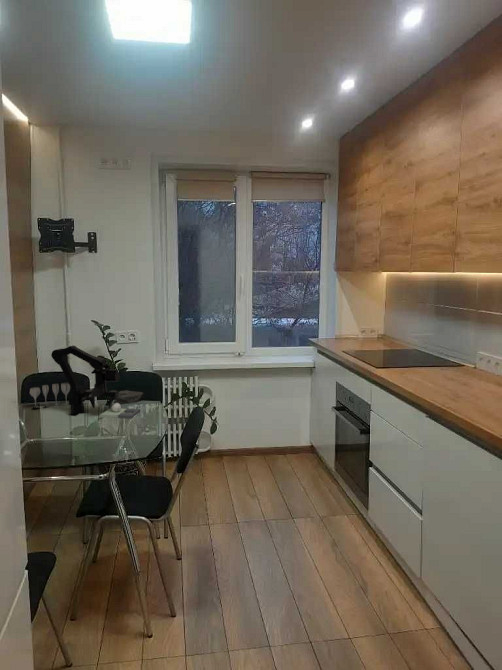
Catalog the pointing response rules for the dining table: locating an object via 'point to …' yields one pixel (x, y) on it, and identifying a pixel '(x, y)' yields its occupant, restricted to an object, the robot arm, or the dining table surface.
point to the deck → (120, 413)
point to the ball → (116, 407)
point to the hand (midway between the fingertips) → (101, 408)
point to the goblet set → (55, 387)
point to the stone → (129, 397)
